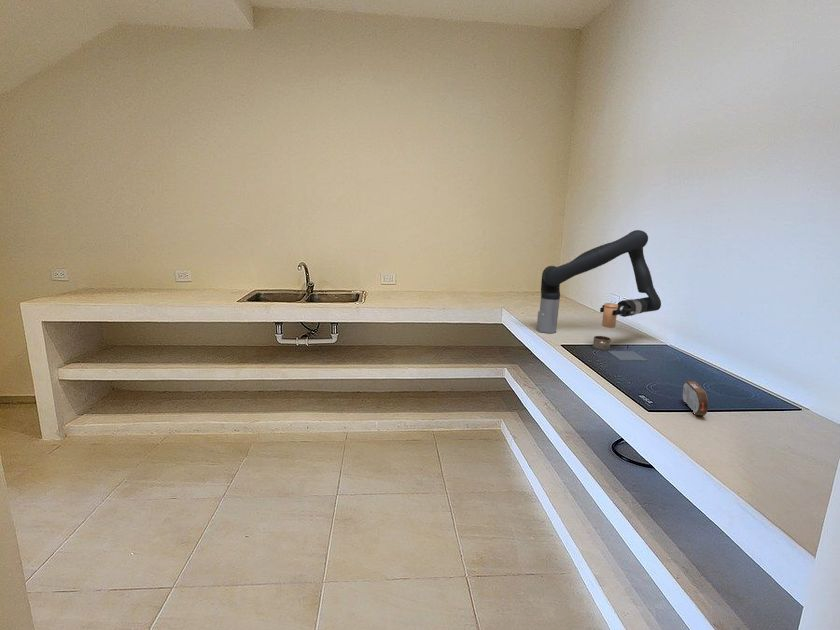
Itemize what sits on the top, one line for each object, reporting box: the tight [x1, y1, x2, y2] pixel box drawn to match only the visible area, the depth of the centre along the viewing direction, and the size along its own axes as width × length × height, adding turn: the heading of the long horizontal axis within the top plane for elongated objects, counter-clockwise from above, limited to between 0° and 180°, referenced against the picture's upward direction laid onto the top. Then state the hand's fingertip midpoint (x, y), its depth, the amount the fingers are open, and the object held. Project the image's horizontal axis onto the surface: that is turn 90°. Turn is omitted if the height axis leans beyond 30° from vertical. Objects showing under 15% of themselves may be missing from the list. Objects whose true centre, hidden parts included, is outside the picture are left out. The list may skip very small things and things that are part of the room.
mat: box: [607, 350, 648, 362], centre depth 207 cm, size 12×12×1 cm
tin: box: [681, 380, 709, 417], centre depth 154 cm, size 15×3×8 cm, turn 170°
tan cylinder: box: [601, 302, 618, 329], centre depth 212 cm, size 6×6×10 cm
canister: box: [592, 335, 612, 352], centre depth 217 cm, size 7×7×5 cm
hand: (607, 311), depth 210 cm, fingers closed on tan cylinder, 5 cm apart
